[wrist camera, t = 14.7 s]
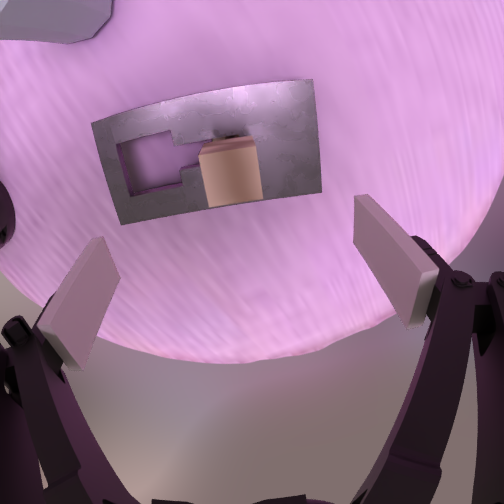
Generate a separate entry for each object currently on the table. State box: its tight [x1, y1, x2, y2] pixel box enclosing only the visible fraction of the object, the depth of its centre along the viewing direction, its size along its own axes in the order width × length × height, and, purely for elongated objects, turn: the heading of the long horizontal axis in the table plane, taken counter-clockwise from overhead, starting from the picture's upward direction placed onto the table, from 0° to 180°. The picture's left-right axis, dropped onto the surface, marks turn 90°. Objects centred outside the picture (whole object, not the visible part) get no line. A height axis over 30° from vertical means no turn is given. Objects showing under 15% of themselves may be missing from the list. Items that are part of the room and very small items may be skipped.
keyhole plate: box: [91, 79, 322, 225], centre depth 35 cm, size 26×14×6 cm, turn 98°
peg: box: [198, 134, 263, 207], centre depth 31 cm, size 5×5×17 cm
